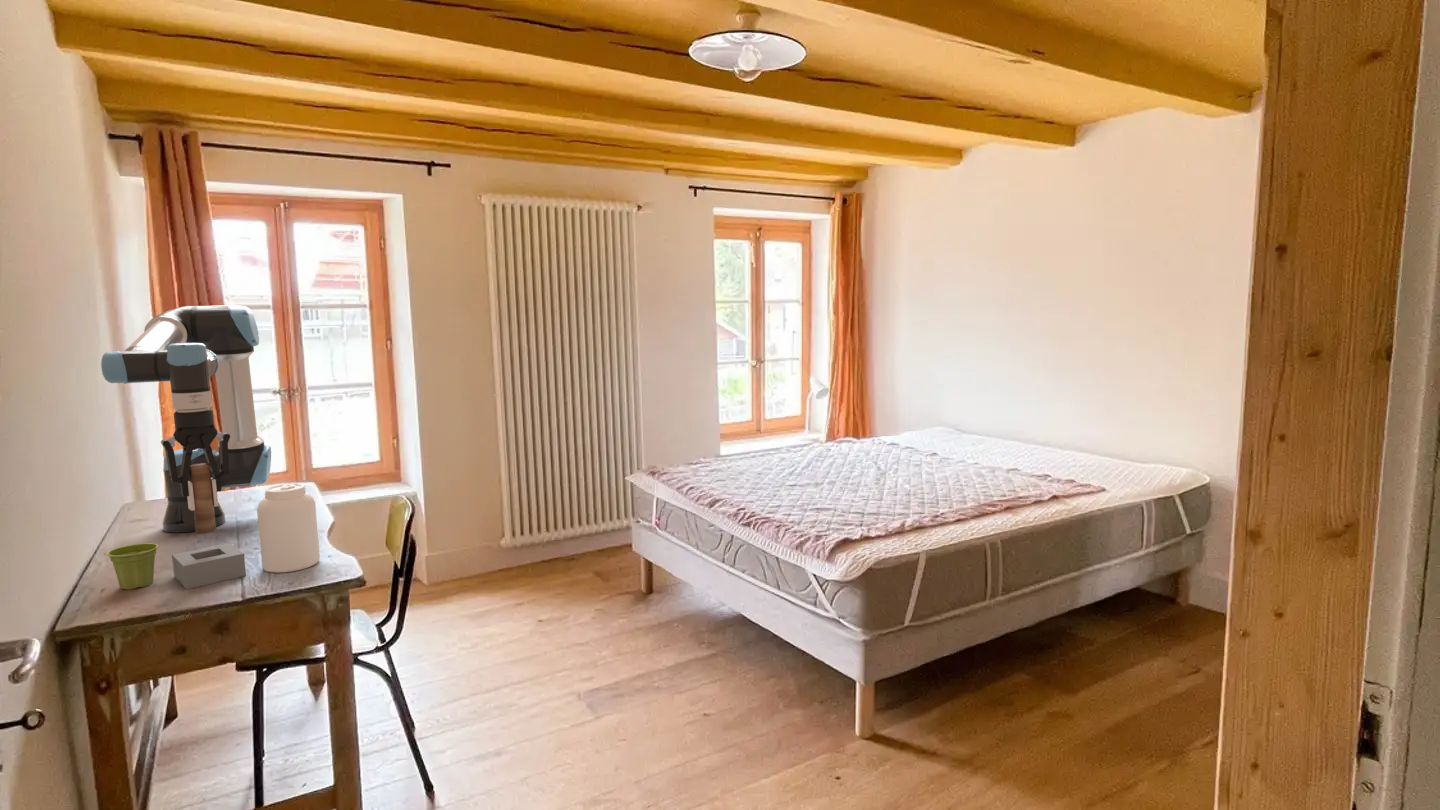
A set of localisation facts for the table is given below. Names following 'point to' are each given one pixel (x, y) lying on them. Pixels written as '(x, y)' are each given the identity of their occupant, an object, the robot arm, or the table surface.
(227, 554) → the box
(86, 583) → the table surface
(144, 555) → the plant pot
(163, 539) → the table surface
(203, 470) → the dowel
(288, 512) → the can
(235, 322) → the robot arm
